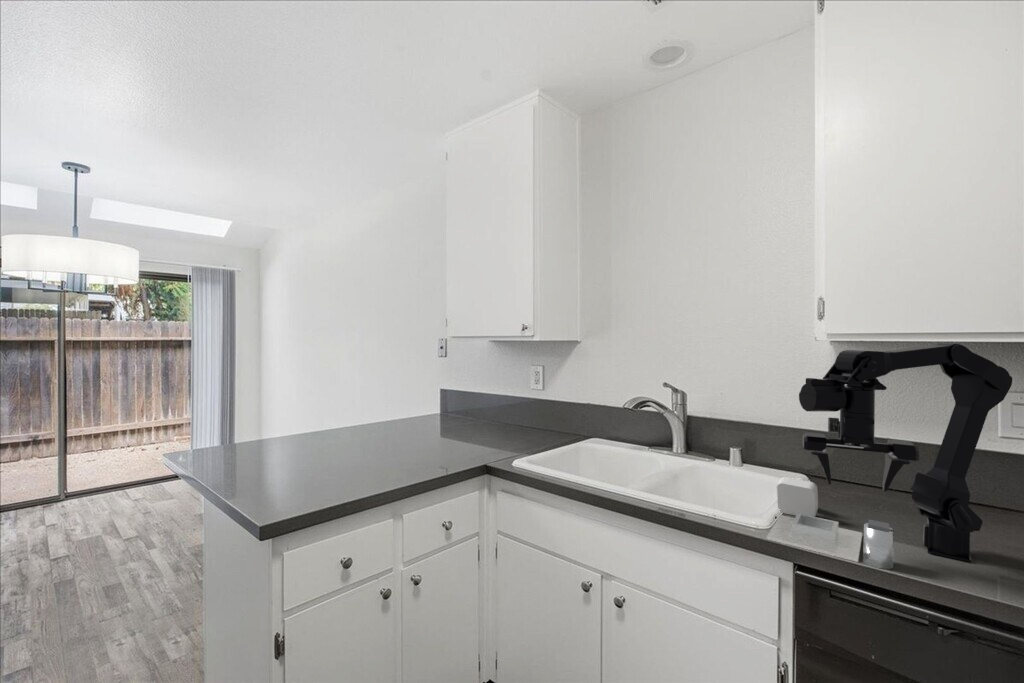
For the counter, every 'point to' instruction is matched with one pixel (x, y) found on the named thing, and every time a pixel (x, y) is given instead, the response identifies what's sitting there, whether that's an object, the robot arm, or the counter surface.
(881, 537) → the sleeve
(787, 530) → the duct socket
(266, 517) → the counter surface
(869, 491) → the counter surface
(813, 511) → the grey rounded block
